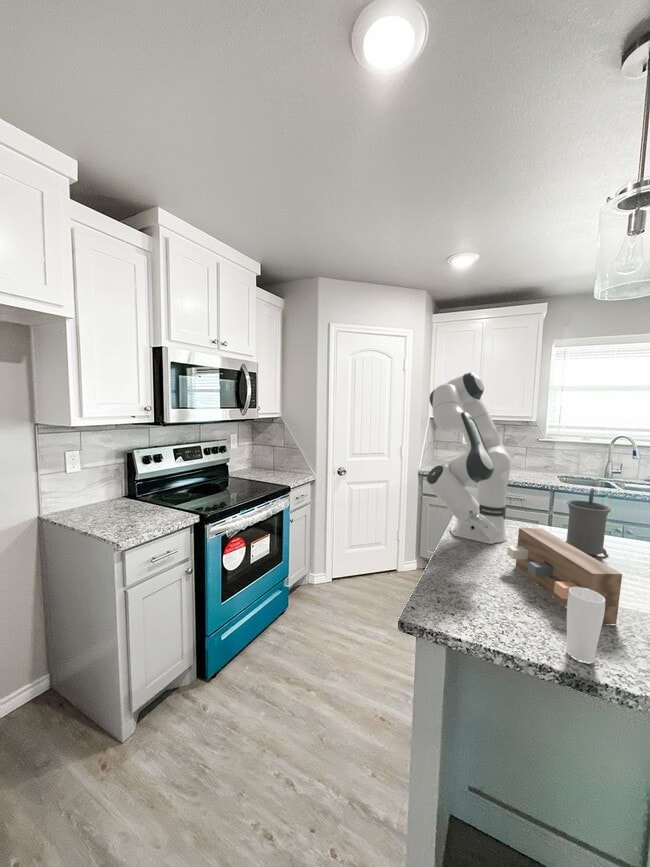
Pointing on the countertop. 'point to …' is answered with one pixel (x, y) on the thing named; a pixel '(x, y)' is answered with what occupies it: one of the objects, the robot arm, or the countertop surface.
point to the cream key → (518, 552)
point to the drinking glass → (584, 622)
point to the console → (570, 568)
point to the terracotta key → (564, 588)
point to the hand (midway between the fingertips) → (491, 537)
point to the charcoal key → (540, 569)
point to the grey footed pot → (587, 525)
